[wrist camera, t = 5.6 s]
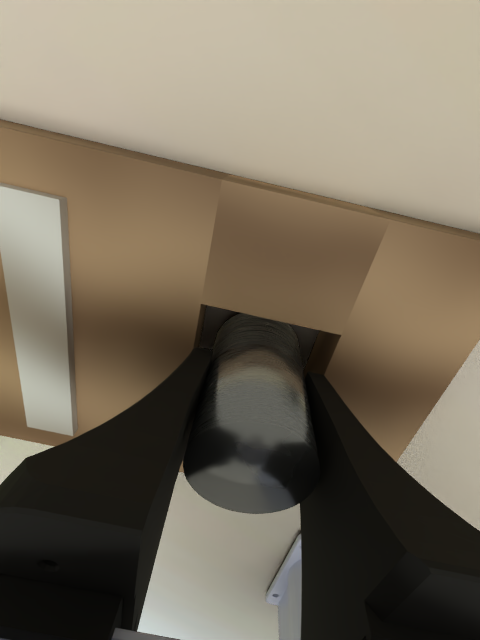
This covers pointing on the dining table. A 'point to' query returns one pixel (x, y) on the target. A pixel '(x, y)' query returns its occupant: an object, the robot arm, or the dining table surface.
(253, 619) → the dining table surface
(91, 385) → the jig
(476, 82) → the dining table surface
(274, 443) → the mottled grey cylinder
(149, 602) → the dining table surface
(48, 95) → the dining table surface
